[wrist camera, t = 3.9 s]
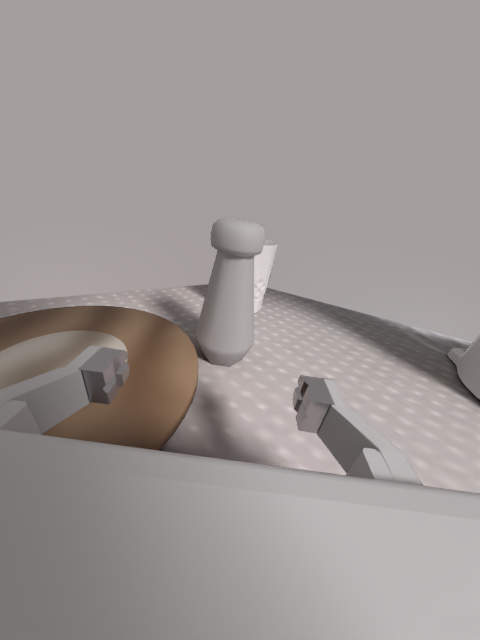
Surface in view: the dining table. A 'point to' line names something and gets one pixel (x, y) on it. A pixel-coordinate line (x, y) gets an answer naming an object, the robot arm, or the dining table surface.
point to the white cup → (263, 271)
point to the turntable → (143, 359)
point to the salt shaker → (230, 292)
